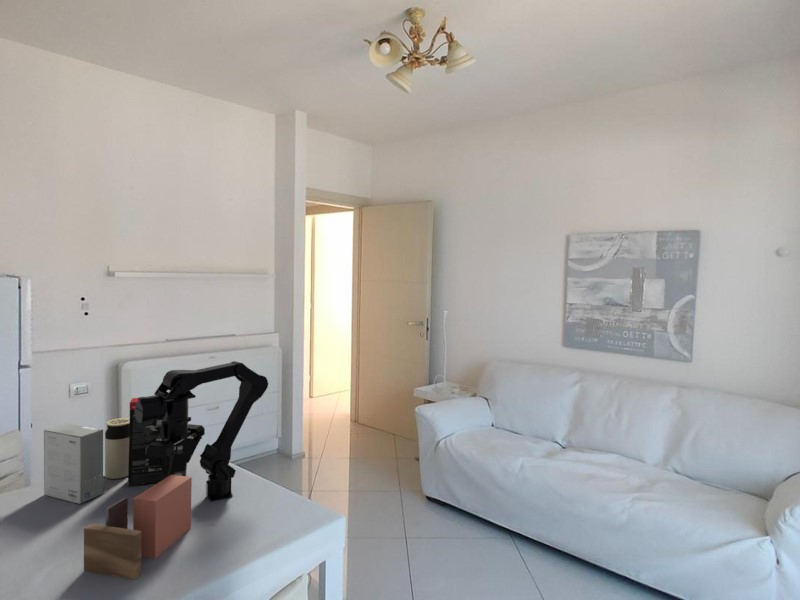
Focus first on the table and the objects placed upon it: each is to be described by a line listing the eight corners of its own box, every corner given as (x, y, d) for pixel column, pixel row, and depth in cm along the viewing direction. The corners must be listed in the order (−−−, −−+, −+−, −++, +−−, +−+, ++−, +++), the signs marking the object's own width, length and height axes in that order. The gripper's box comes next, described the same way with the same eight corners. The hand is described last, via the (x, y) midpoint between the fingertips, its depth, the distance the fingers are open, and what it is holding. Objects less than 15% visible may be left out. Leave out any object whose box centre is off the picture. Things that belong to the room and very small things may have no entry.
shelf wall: (91, 565, 111) (91, 523, 110) (141, 574, 108) (141, 531, 108) (83, 571, 109) (83, 528, 108) (134, 579, 106) (134, 535, 106)
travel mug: (132, 477, 158) (133, 423, 157) (104, 481, 154) (104, 426, 153) (132, 468, 164) (133, 416, 164) (105, 472, 161) (105, 419, 160)
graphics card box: (187, 472, 163) (188, 393, 162) (187, 480, 157) (188, 398, 155) (130, 479, 156) (130, 396, 155) (127, 488, 150) (128, 402, 148)
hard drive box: (104, 494, 145) (104, 429, 144) (80, 505, 138) (80, 437, 137) (67, 484, 150) (67, 422, 149) (42, 495, 143) (42, 429, 142)
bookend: (110, 551, 116) (111, 494, 116) (127, 553, 116) (127, 497, 115) (90, 565, 111) (90, 506, 110) (108, 568, 110) (108, 509, 109)
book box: (170, 525, 129) (171, 474, 128) (190, 528, 128) (191, 477, 127) (132, 554, 115) (133, 498, 115) (155, 558, 114) (155, 501, 114)
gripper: (172, 404, 146) (172, 454, 147) (127, 423, 128) (128, 480, 129) (205, 407, 145) (205, 457, 146) (164, 426, 126) (165, 484, 127)
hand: (177, 468), depth 137 cm, fingers open, 9 cm apart
